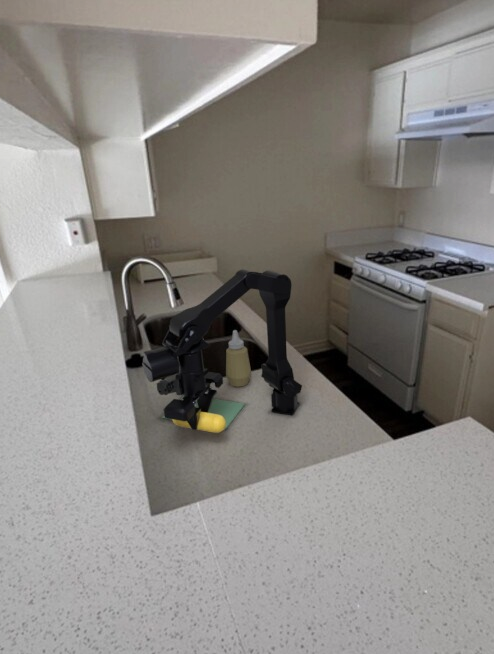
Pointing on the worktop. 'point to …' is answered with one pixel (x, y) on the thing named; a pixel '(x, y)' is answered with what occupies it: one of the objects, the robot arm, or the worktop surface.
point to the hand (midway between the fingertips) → (199, 424)
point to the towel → (223, 409)
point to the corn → (206, 422)
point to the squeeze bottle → (237, 362)
